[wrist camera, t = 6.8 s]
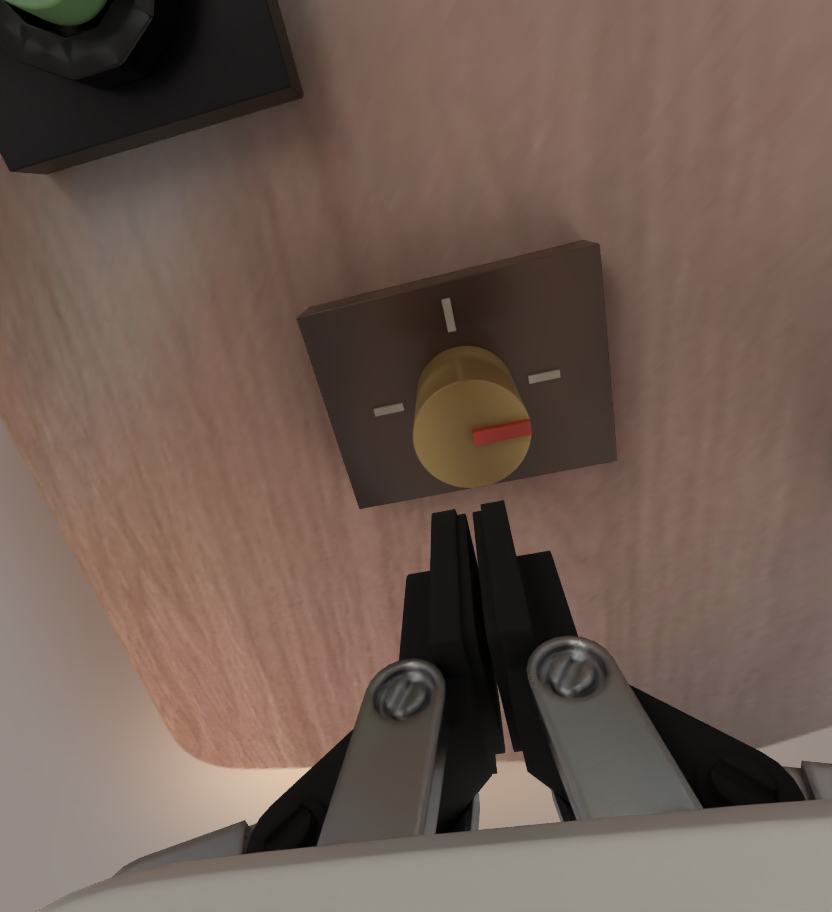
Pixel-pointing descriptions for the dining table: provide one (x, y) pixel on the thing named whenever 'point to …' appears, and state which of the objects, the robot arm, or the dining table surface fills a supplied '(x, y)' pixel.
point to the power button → (62, 10)
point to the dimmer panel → (468, 324)
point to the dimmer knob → (469, 418)
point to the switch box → (135, 76)
